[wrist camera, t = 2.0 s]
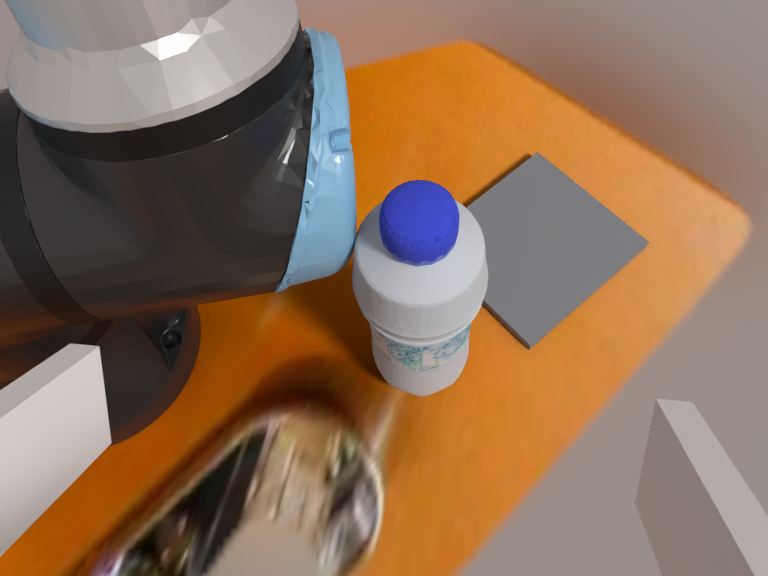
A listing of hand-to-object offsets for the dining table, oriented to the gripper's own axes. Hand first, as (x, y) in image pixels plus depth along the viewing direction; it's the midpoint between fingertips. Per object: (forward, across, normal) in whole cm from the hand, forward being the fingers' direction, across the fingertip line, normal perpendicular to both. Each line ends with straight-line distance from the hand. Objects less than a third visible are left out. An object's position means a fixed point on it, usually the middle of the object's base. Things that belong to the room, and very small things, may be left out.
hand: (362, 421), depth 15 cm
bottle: (+27, 0, -11) cm, 29 cm away
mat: (+33, +7, -4) cm, 34 cm away
